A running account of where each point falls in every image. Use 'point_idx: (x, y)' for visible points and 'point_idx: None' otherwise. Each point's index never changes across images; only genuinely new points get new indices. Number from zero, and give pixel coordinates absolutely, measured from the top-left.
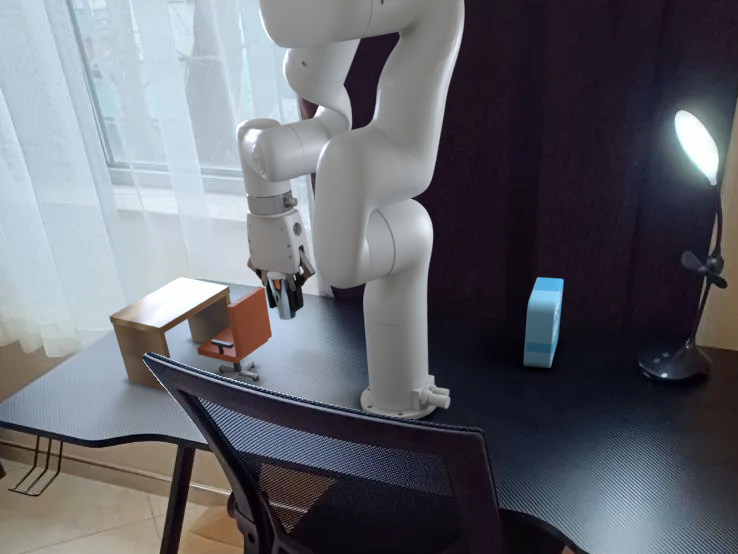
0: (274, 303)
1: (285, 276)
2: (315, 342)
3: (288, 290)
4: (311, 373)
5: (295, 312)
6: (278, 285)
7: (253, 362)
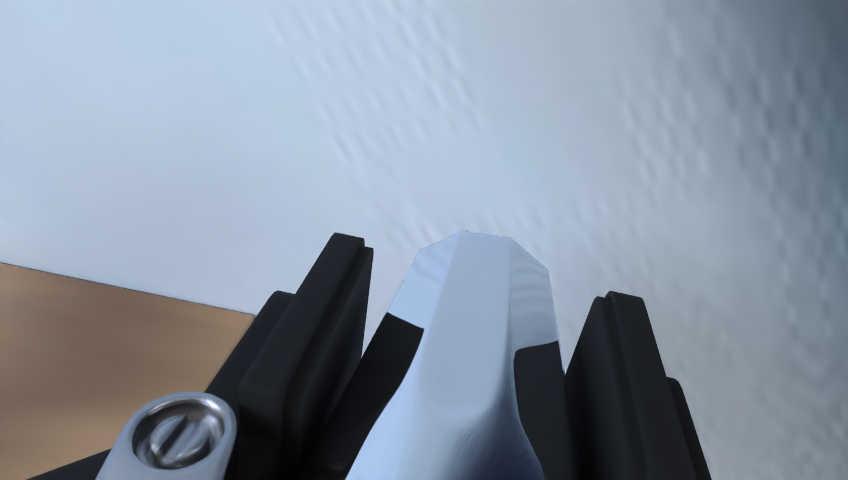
0: (352, 365)
1: None
2: (658, 174)
3: None
4: (716, 459)
5: (553, 303)
6: None
7: None
